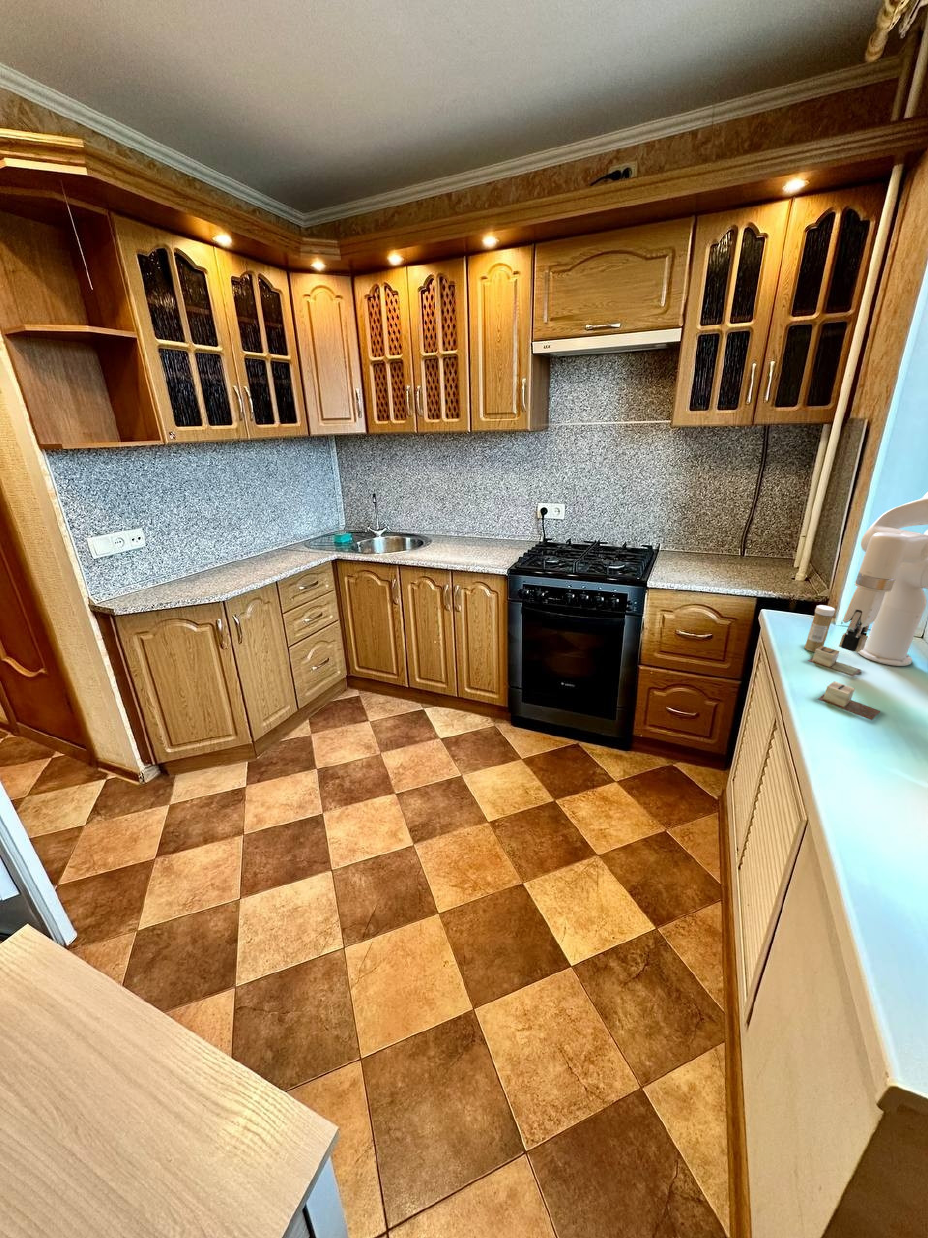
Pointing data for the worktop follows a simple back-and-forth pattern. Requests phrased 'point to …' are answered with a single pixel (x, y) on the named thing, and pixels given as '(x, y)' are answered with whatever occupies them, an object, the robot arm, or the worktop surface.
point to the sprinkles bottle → (819, 627)
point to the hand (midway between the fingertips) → (851, 646)
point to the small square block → (860, 644)
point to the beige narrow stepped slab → (832, 661)
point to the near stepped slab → (846, 700)
